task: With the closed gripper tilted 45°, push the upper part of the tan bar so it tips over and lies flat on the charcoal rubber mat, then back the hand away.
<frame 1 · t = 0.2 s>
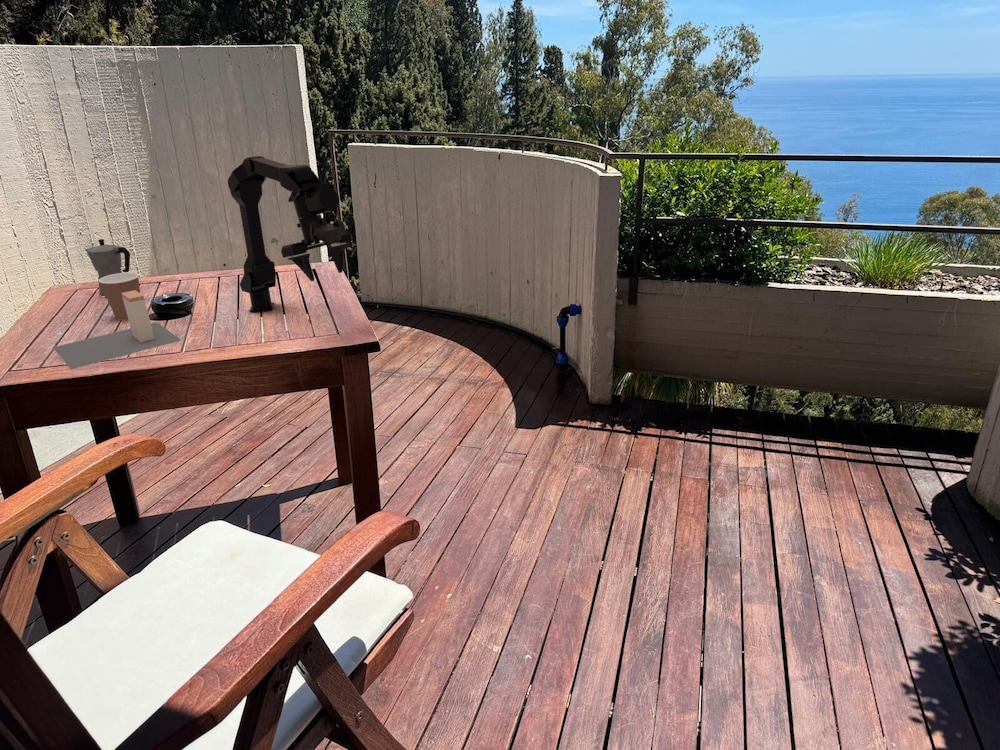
hand: (327, 276, 174), 15 cm above the table, tool pointing down, fingers open, 9 cm apart
coffee cup: (129, 317, 197), on the table
tan bar: (143, 337, 180), resting on mat
coffeepot: (119, 294, 218), on the table
mat: (117, 345, 176), on the table
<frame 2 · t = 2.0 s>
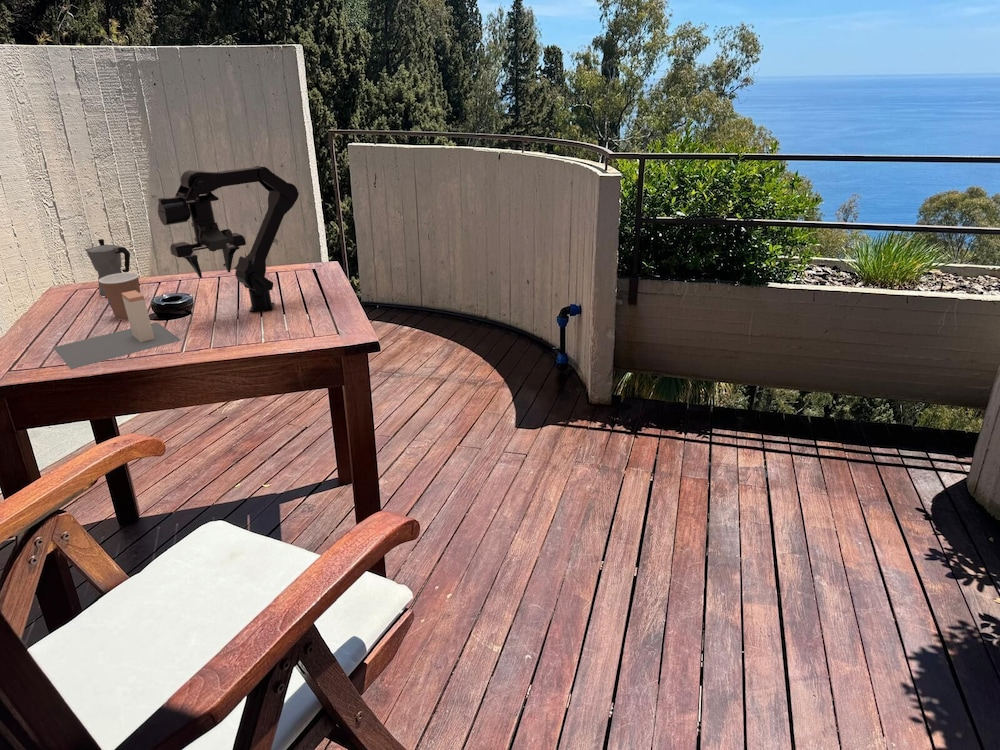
hand: (215, 275, 188), 13 cm above the table, tool pointing down, fingers open, 8 cm apart
nothing on the table moved.
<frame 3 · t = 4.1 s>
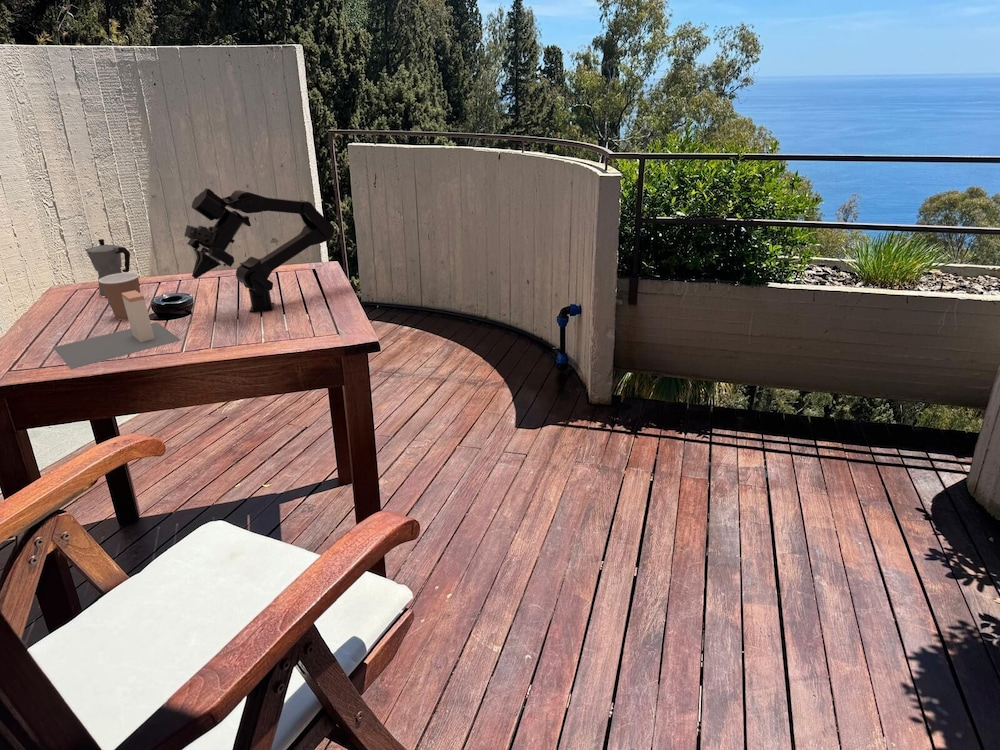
hand: (193, 277, 184), 13 cm above the table, tool tilted 45°, fingers closed
nothing on the table moved.
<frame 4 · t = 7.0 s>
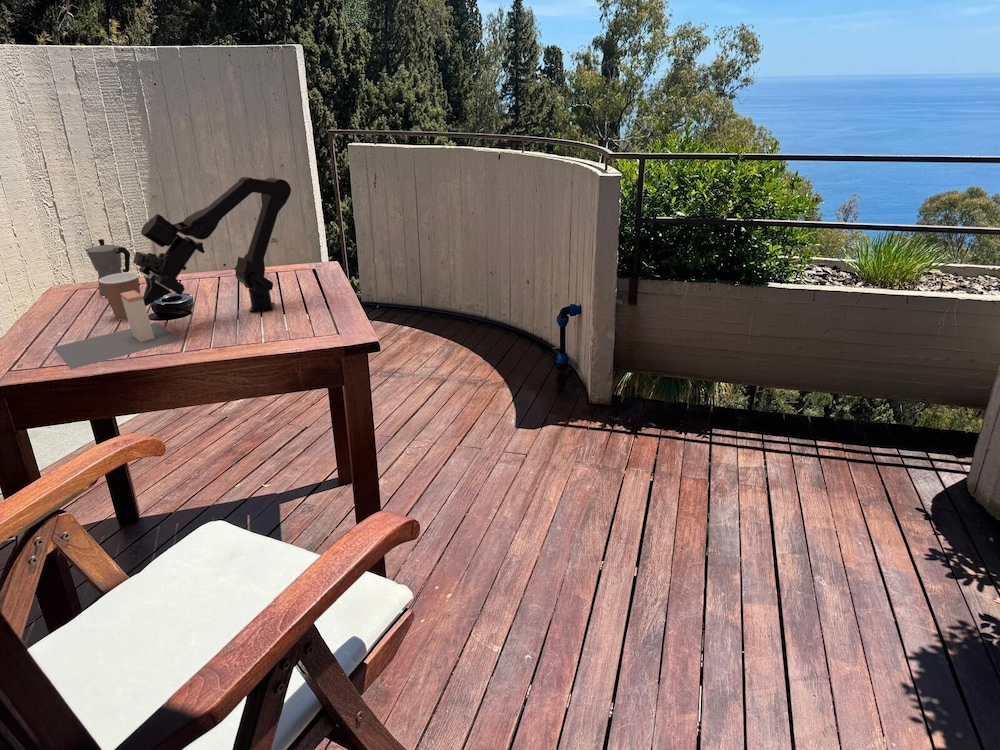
hand: (143, 305, 177), 9 cm above the table, tool tilted 45°, fingers closed, pressing on tan bar
tan bar: (143, 336, 180), resting on mat, touching gripper
everything else where it was.
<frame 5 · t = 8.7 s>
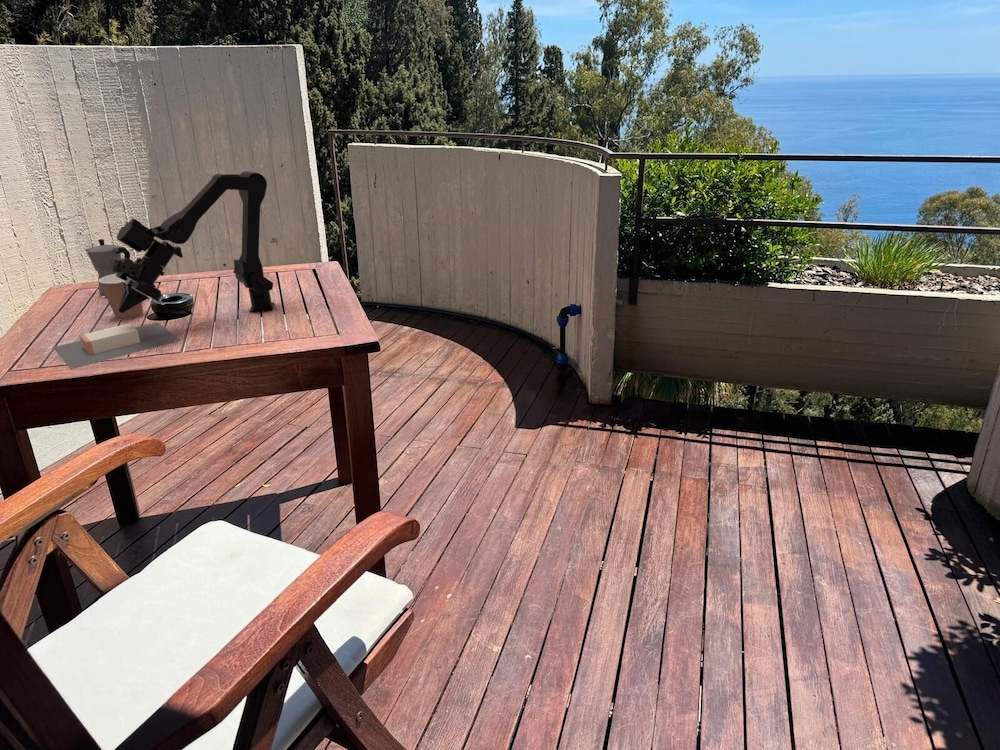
hand: (120, 311, 174), 9 cm above the table, tool tilted 45°, fingers closed
tan bar: (134, 332, 178), point 2 cm above the table, tilted 90°, touching mat
everything else where it was.
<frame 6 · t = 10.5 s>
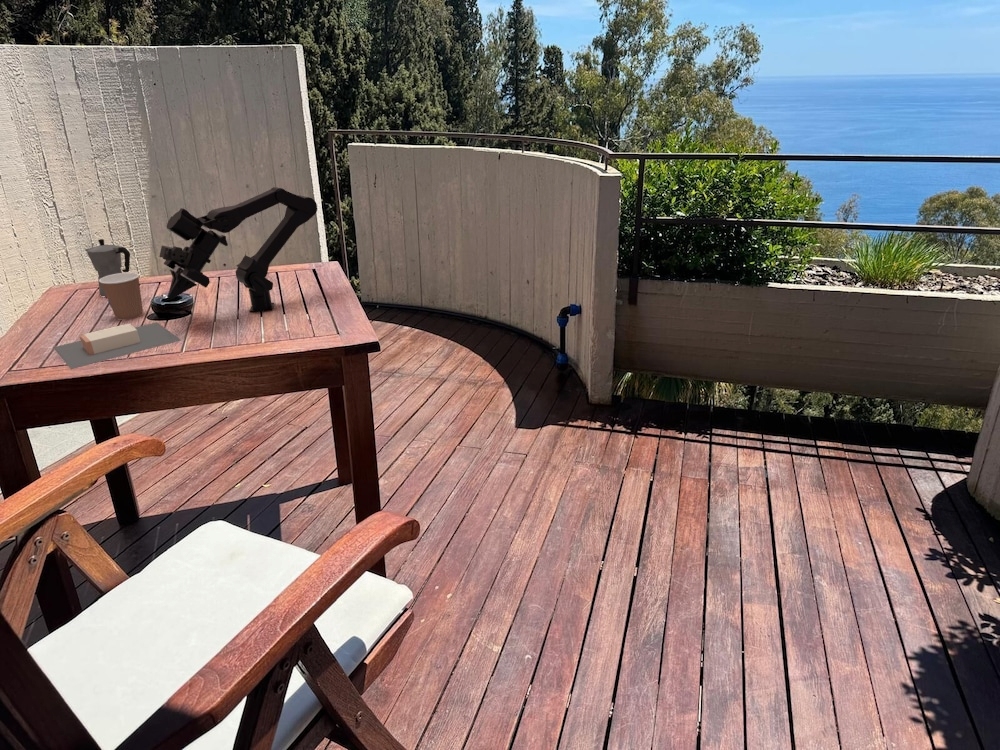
hand: (169, 298, 181), 9 cm above the table, tool tilted 45°, fingers closed
nothing on the table moved.
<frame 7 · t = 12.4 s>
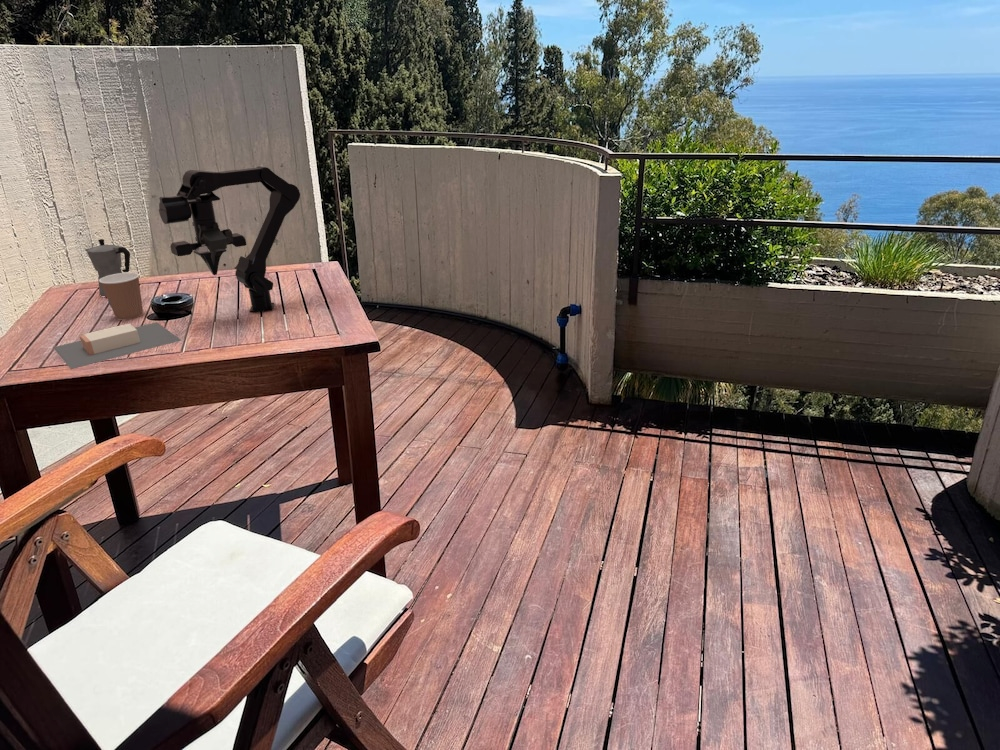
hand: (214, 274, 188), 13 cm above the table, tool pointing down, fingers closed
nothing on the table moved.
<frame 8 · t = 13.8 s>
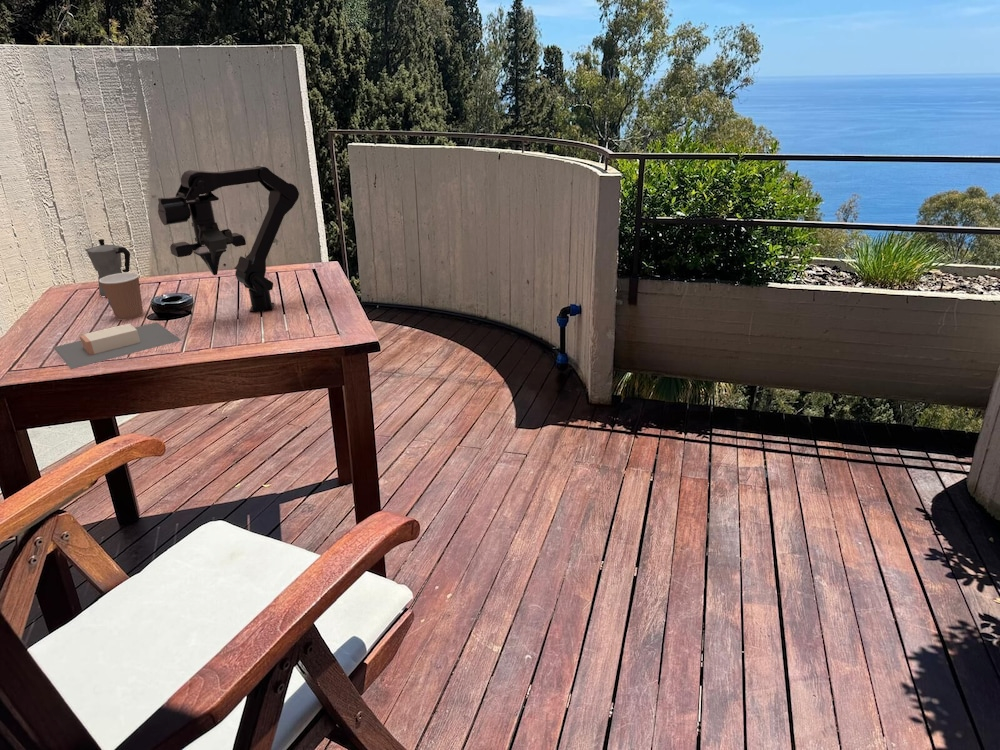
hand: (215, 274, 188), 13 cm above the table, tool pointing down, fingers closed
nothing on the table moved.
at the end: tan bar tilted 90°; tan bar touching mat; tan bar 4.7 cm from the mat (horizontally) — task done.
